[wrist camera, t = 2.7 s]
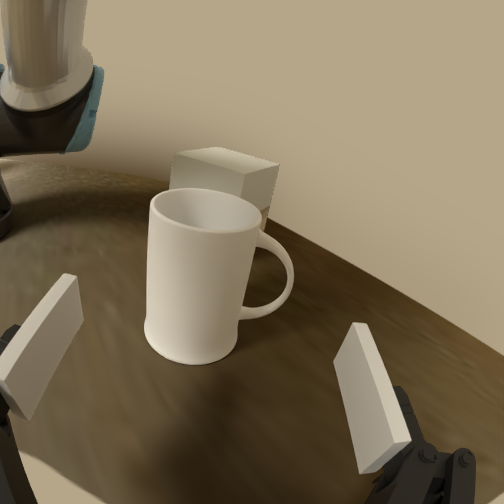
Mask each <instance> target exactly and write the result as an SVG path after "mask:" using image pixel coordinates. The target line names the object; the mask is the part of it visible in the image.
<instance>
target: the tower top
mask: <svg viewBox="0 0 504 504" xmlns="http://www.w3.org/2000/svg"><path fill="white" fill-rule="evenodd" d="M279 166H280V165H279V164H276V163H273V162H270V161H266V160H263V159H260V158H256V157H253V156H249V155H246V154H242V153H239V152H235V151H232V150H228V149H224V148H220V147H212V148H205V149H197V150H190V151H183V152H176V153H174V154H173V162H172V169H171V178H170V186H169V190H173V189H182V188H199V189H208V190H215V191H220V192H224V193H227V194H231V195H234V196H236V197H239V198H241V199H244V200H246V201H247V202H249V203H251V204H252V205H254V206H255V207H256V208H257V209H258V210H259V211H261V210H262V209H264V208H266V207H268V206H270V204H271V200H272V195H273V191H274V187H275V182H276V178H277V174H278V170H279Z"/></svg>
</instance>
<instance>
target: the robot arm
mask: <svg viewBox="0 0 504 504" xmlns="http://www.w3.org/2000/svg"><path fill="white" fill-rule="evenodd" d="M0 1H1V17H2V28H3V37H4V44H5V51H6V58H7V64H8V66H7V67H6V69H4V65H3V64H0V157H8V156H20V155H33V154H53V153H59V154H65V153H66V152H77V151H82V150H84V149H85V148H86V147H87V146H88V145H89V143H90V141H91V138H92V134H93V130H94V125H95V120H96V112H97V109H98V105H99V101H100V96H101V90H102V85H103V79H104V70H103V68H102V67H97V66H96V65H93V59H92V56H91V53H90V52H89V51H88V50H87V49H86V48H85V47H84V46H82V40H83V30H84V21H85V13H86V6H87V0H0ZM14 221H15V218H14V209H13V204H12V201H11V199H10V197H9V194H8V192H7V189H6V186H5V184H4V181H3V179H2V176H1V172H0V238H1V237H3V236H4V235H5V234H6V233H7V232H8V231H9V230H10V229H11V228H12V226H13V224H14ZM83 321H84V319H83V313H82V307H81V301H80V294H79V287H78V279H77V276H74V275H69V274H65V273H64V274H63V275H62V276H61V277H60V278H59V280H58V281H57V282H56V283H55V284H54V286H53V287H52V288H51V289H50V290H49V292H48V293H47V294H46V295H45V297H44V298H43V299H42V300H41V302H40V303H39V304H38V305H37V307H36V308H35V309H34V310H33V312H32V313H31V314H30V316H29V317H28V318H27V320H26V321H25V322H24V324H23V325H22V326H19V325H16V324H15V325H13V326H12V327H10V328H9V329H7V330H6V331H5V333H4V334H3V335H2V337H1V338H0V504H38V503H37V501H36V498H35V496H34V493H33V491H32V488H31V486H30V483H29V481H28V478H27V475H26V473H25V470H24V467H23V464H22V461H21V458H20V455H19V452H18V449H17V445H16V442H15V438H14V435H13V431H12V427H11V423H10V419H9V417H8V414H7V413H8V411H9V409H11V411H12V412H13V414H14V415H15V416H16V417H18V418H20V419H23V420H25V421H27V422H30V420H31V418H32V416H33V414H34V412H35V409H36V407H37V405H38V403H39V401H40V399H41V397H42V395H43V393H44V391H45V389H46V387H47V385H48V383H49V381H50V380H51V378H52V376H53V374H54V372H55V370H56V368H57V366H58V365H59V363H60V361H61V359H62V357H63V356H64V354H65V352H66V350H67V348H68V347H69V345H70V343H71V341H72V340H73V338H74V336H75V335H76V333H77V331H78V330H79V328H80V326H81V324H82V323H83ZM333 363H334V366H335V370H336V374H337V378H338V382H339V386H340V390H341V394H342V398H343V403H344V407H345V411H346V415H347V419H348V424H349V428H350V433H351V437H352V442H353V446H354V451H355V455H356V460H357V465H358V470H359V474H365V473H373V472H376V471H377V470H379V469H380V468H381V467H382V466H383V469H384V473H383V474H381V475H380V476H379V477H377V478H376V479H375V480H374V481H373V482H372V483H373V484H374V483H376V482H377V481H378V482H377V483H376V485H375V487H374V489H373V490H372V492H371V494H370V495H369V497H368V498H367V500H366V502H365V503H364V504H474V497H475V478H476V460H475V457H474V455H473V453H472V452H471V451H470V450H469V449H466V448H460V449H458V450H456V451H455V452H454V453H453V454H450V453H442V452H438V451H437V450H436V448H435V447H434V446H433V445H432V444H430V443H427V442H425V440H424V438H423V435H422V433H421V430H420V427H419V424H418V422H417V419H416V416H415V414H413V412H414V411H413V409H412V406H410V405H411V404H410V401H409V398H408V396H407V394H406V393H405V392H404V391H403V389H402V388H401V387H400V386H392V385H391V382H390V379H389V377H388V374H387V372H386V369H385V367H384V364H383V362H382V359H381V357H380V354H379V352H378V349H377V347H376V345H375V342H374V340H373V337H372V335H371V333H370V330H369V328H368V326H367V324H365V323H355V322H353V323H352V325H351V327H350V329H349V331H348V333H347V335H346V337H345V339H344V341H343V343H342V345H341V347H340V349H339V351H338V353H337V355H336V357H335V359H334V361H333Z"/></svg>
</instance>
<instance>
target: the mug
mask: <svg viewBox="0 0 504 504" xmlns="http://www.w3.org/2000/svg"><path fill="white" fill-rule="evenodd" d="M261 221H262V215H261V213H260V211H259V210H258V209H257V208H256V207H255V206H254V205H252V204H251V203H249V202H247V201H246V200H244V199H241V198H239V197H236V196H234V195H231V194H227V193H224V192H220V191H215V190H208V189H199V188H182V189H173V190H168V191H165V192H162V193H159V194H158V195H156V196H155V197H154V198H153V199H152V200H151V203H150V213H149V230H148V252H147V314H146V319H145V324H144V331H145V336H146V338H147V340H148V342H149V344H150V345H151V346H152V348H153V349H154V350H155V351H157V352H158V353H159V354H160V355H162V356H164V357H165V358H167V359H169V360H172V361H174V362H178V363H182V364H188V365H203V364H209V363H212V362H215V361H218V360H220V359H222V358H223V357H225V356H226V355H228V354H229V353H230V352H231V351H232V349H233V348H234V346H235V344H236V341H237V336H238V331H237V326H238V321H239V320H242V319H253V318H258V317H262V316H265V315H267V314H270V313H271V312H273V311H275V310H276V309H278V308H279V307H280V306H281V305H282V304H283V303H284V302H285V301H286V299H287V298H288V296H289V294H290V292H291V290H292V286H293V282H294V270H293V265H292V262H291V259H290V257H289V255H288V253H287V252H286V250H285V249H284V248H283V247H282V245H281V244H280V243H278V242H277V241H276V240H275V239H274V238H272V237H271V236H269V235H267V234H265V233H264V232H262V231H261V229H260V226H261ZM255 247H261V248H264V249H267V250H269V251H271V252H272V253H274V254H275V255H276V256H277V257H278V258H279V259H280V260H281V261H282V262H283V264H284V266H285V268H286V271H287V277H288V279H287V285H286V288H285V290H284V291H283V293H282V294H281V295H280V297H279V298H277V299H276V300H275V301H273V302H272V303H270V304H268V305H265V306H262V307H257V308H248V307H244V306H242V304H243V299H244V295H245V291H246V286H247V282H248V278H249V273H250V269H251V265H252V260H253V256H254V252H255Z"/></svg>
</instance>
